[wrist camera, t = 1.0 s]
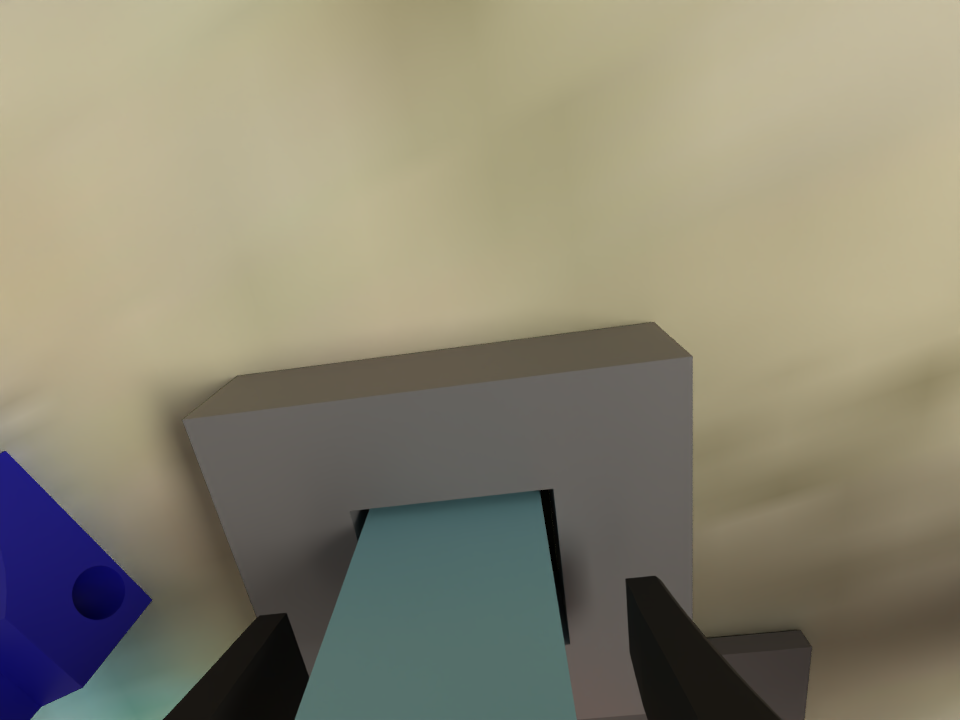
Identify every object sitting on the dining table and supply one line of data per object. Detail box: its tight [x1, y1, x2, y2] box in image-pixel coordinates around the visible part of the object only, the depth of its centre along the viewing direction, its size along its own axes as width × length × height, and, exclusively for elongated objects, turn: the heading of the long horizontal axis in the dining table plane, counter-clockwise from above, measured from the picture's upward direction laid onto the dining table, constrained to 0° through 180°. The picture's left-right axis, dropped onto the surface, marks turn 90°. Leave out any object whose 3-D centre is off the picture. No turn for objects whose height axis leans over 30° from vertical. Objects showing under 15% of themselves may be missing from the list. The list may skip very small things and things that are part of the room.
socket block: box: [182, 322, 693, 720], centre depth 13 cm, size 11×10×2 cm
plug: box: [295, 490, 577, 720], centre depth 11 cm, size 4×4×8 cm
